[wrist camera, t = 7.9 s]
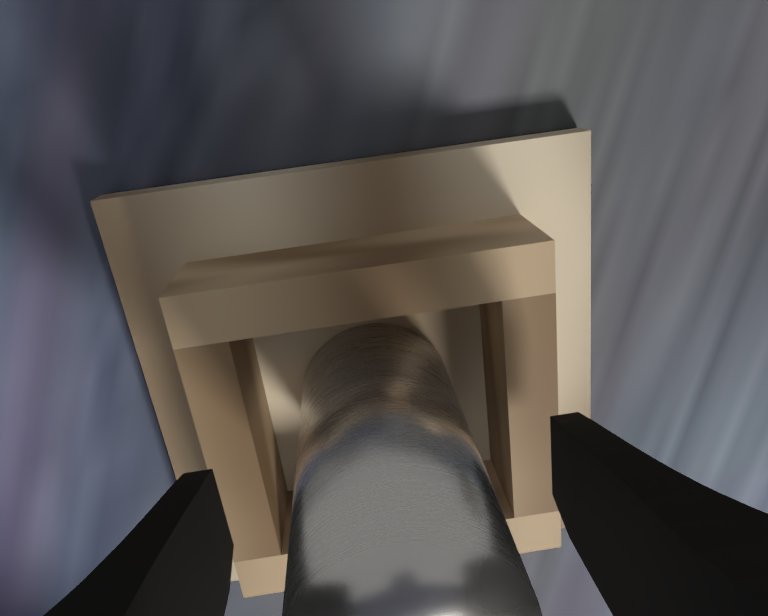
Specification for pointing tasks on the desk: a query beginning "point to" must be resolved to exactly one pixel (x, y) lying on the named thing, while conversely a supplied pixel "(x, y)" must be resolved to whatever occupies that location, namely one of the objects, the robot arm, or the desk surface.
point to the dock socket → (361, 311)
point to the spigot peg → (394, 491)
